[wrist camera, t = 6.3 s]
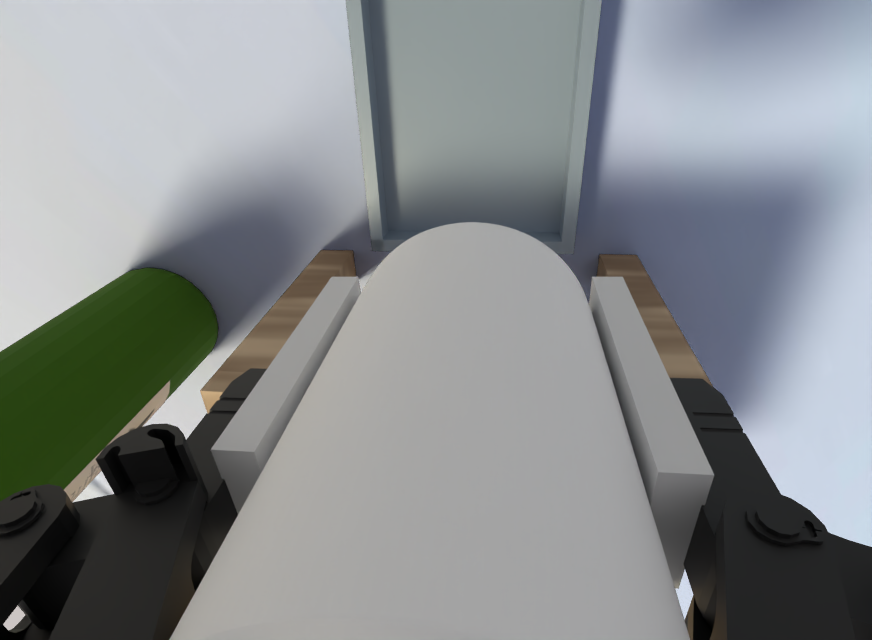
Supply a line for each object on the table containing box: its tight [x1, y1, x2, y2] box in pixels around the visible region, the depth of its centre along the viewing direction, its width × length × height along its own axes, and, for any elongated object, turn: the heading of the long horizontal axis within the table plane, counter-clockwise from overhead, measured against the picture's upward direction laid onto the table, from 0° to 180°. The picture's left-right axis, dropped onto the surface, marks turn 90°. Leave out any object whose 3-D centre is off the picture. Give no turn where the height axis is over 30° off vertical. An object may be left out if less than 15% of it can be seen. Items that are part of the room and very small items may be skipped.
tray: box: [346, 0, 602, 254], centre depth 29 cm, size 18×13×2 cm
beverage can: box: [169, 222, 690, 640], centre depth 9 cm, size 6×6×12 cm
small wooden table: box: [200, 250, 713, 414], centre depth 32 cm, size 18×22×16 cm
